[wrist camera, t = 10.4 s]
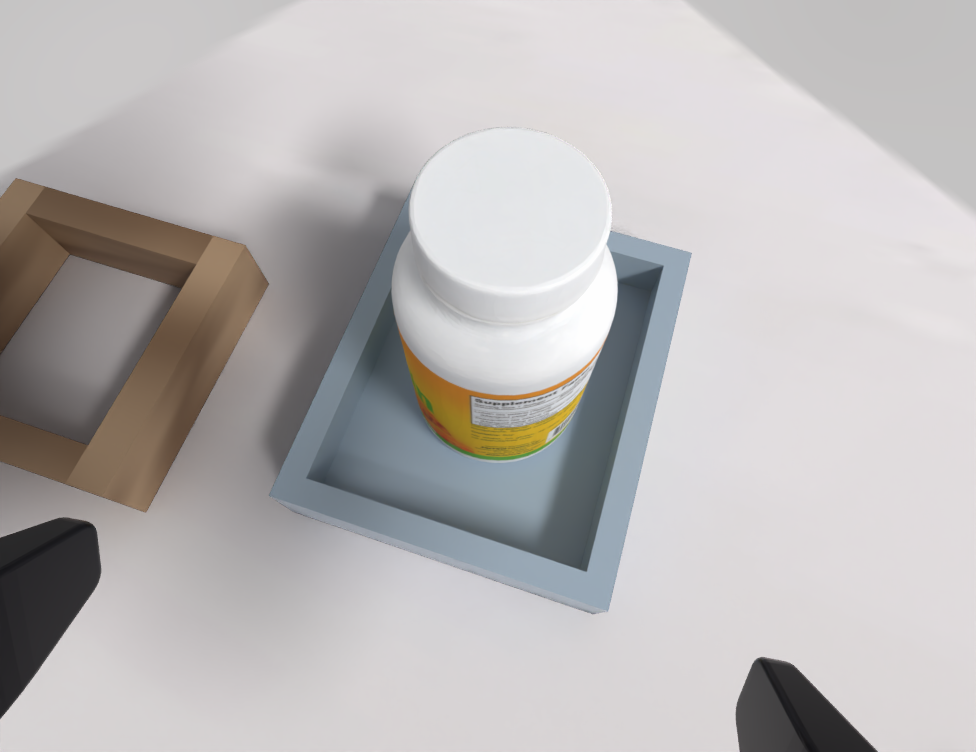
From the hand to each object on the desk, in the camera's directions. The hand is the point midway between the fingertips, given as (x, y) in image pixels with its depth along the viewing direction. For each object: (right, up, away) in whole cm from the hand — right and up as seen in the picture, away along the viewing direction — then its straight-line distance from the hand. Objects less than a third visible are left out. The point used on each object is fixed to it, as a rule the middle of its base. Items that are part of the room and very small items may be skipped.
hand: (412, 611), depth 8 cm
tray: (+1, +3, +13) cm, 14 cm away
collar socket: (-13, +4, +14) cm, 19 cm away
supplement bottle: (+1, +3, +13) cm, 13 cm away
